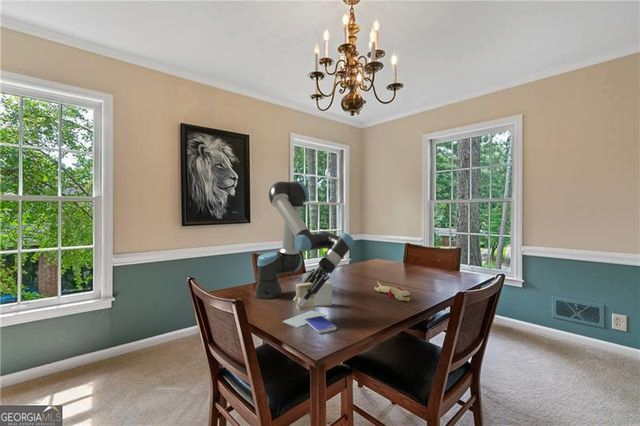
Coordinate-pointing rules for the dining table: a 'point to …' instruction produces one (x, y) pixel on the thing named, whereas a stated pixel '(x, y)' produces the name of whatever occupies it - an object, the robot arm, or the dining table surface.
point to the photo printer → (324, 295)
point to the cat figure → (393, 291)
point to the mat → (302, 318)
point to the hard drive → (320, 324)
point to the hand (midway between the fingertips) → (297, 303)
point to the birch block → (300, 292)
